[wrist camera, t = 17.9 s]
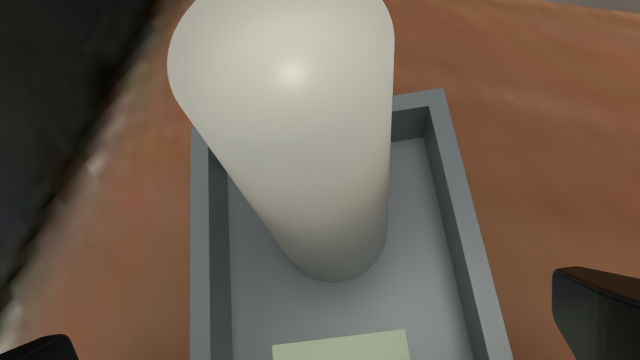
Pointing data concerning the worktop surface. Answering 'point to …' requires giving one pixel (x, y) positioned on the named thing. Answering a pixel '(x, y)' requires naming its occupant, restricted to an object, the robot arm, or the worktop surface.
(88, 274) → the worktop surface
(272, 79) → the white cylinder
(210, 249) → the tote
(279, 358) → the green cube
